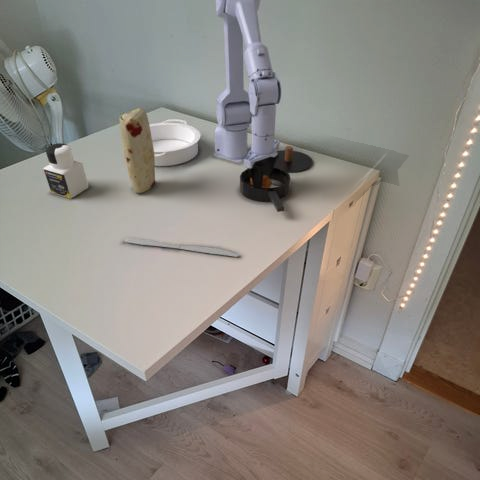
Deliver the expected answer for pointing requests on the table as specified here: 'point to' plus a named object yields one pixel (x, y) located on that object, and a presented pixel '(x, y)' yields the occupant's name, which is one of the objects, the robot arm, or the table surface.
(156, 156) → the pot
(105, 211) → the table surface
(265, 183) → the drumstick
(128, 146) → the food model
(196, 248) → the butter knife
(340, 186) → the table surface
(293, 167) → the pan lid
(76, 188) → the medicine bottle
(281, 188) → the pan
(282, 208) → the pan handle
